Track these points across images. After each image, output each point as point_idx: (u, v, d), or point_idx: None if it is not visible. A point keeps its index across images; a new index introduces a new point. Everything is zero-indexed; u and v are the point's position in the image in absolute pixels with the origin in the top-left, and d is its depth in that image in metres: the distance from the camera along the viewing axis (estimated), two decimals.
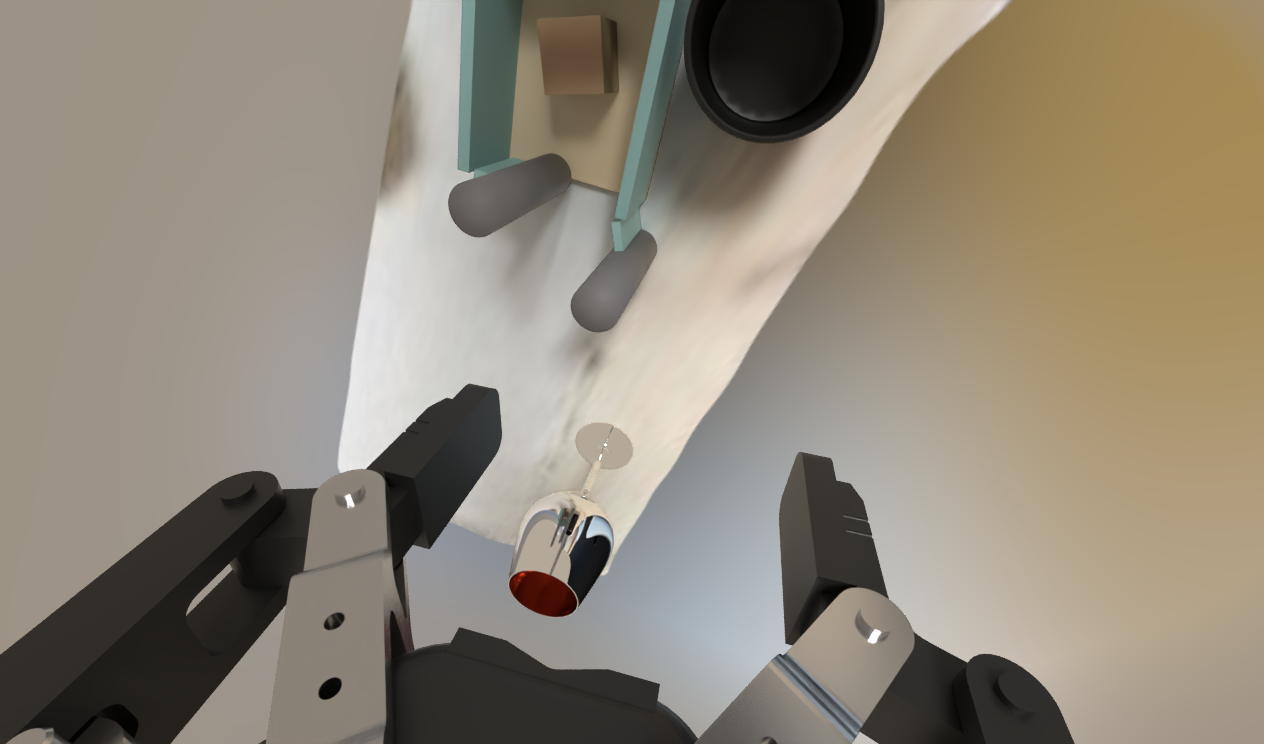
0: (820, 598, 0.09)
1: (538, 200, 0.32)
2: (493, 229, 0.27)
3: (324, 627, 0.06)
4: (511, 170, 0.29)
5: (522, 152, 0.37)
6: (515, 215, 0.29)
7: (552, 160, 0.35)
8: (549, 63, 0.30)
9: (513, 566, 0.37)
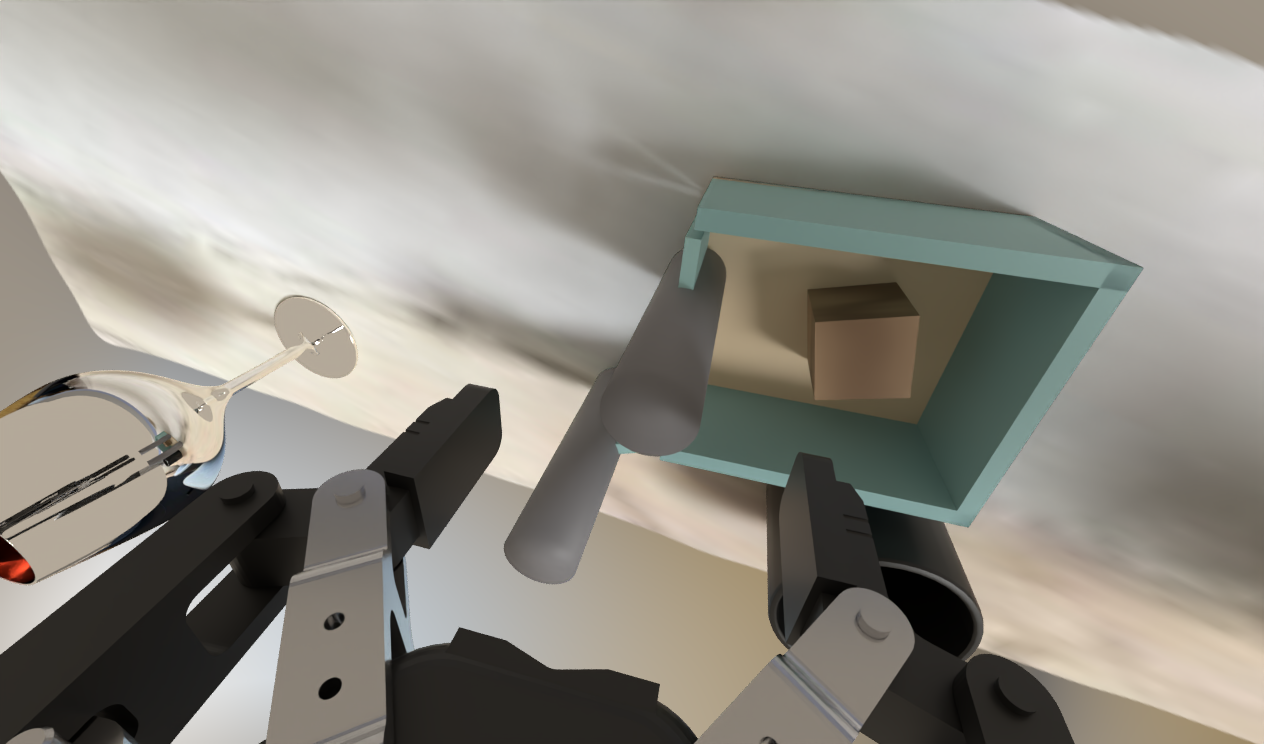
0: (820, 598, 0.09)
1: None
2: (621, 443, 0.15)
3: (324, 627, 0.06)
4: None
5: None
6: None
7: None
8: (857, 331, 0.20)
9: None
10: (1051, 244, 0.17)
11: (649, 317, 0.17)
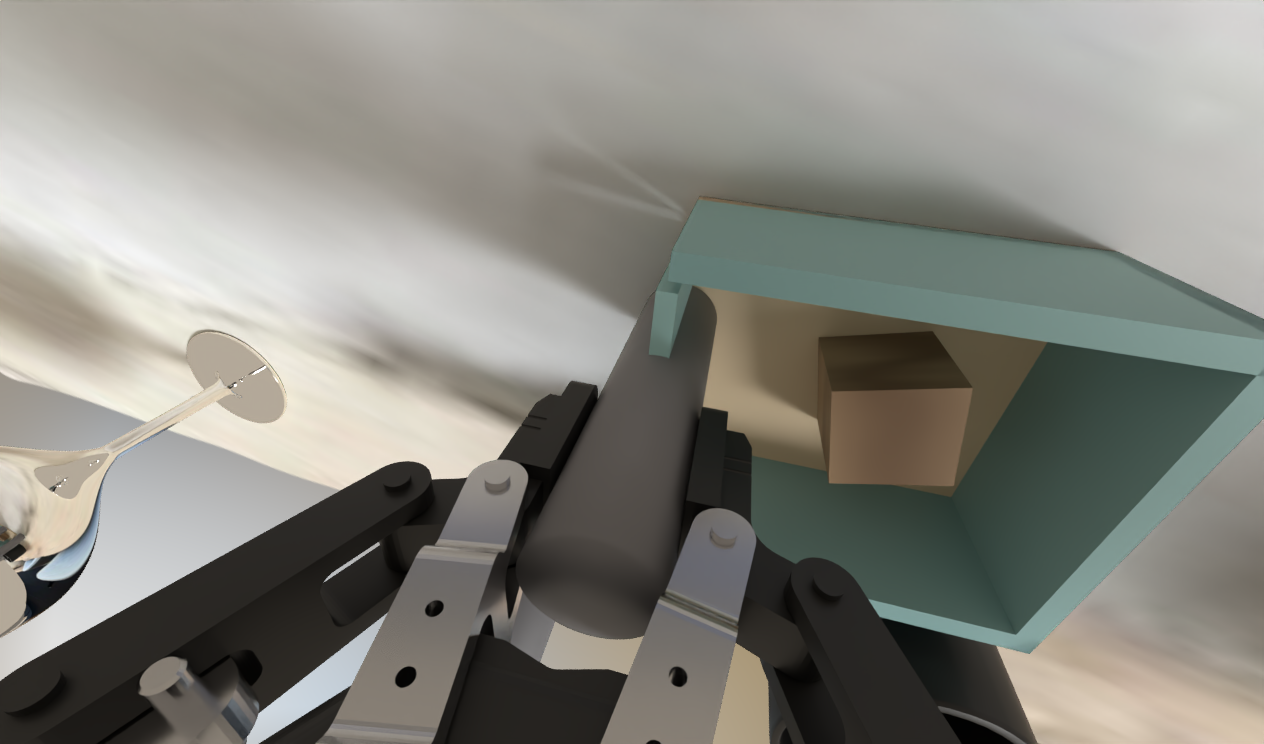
0: (693, 521, 0.10)
1: None
2: (554, 617, 0.10)
3: (425, 609, 0.07)
4: None
5: None
6: None
7: None
8: (888, 404, 0.15)
9: None
10: (1173, 304, 0.12)
11: (604, 407, 0.12)
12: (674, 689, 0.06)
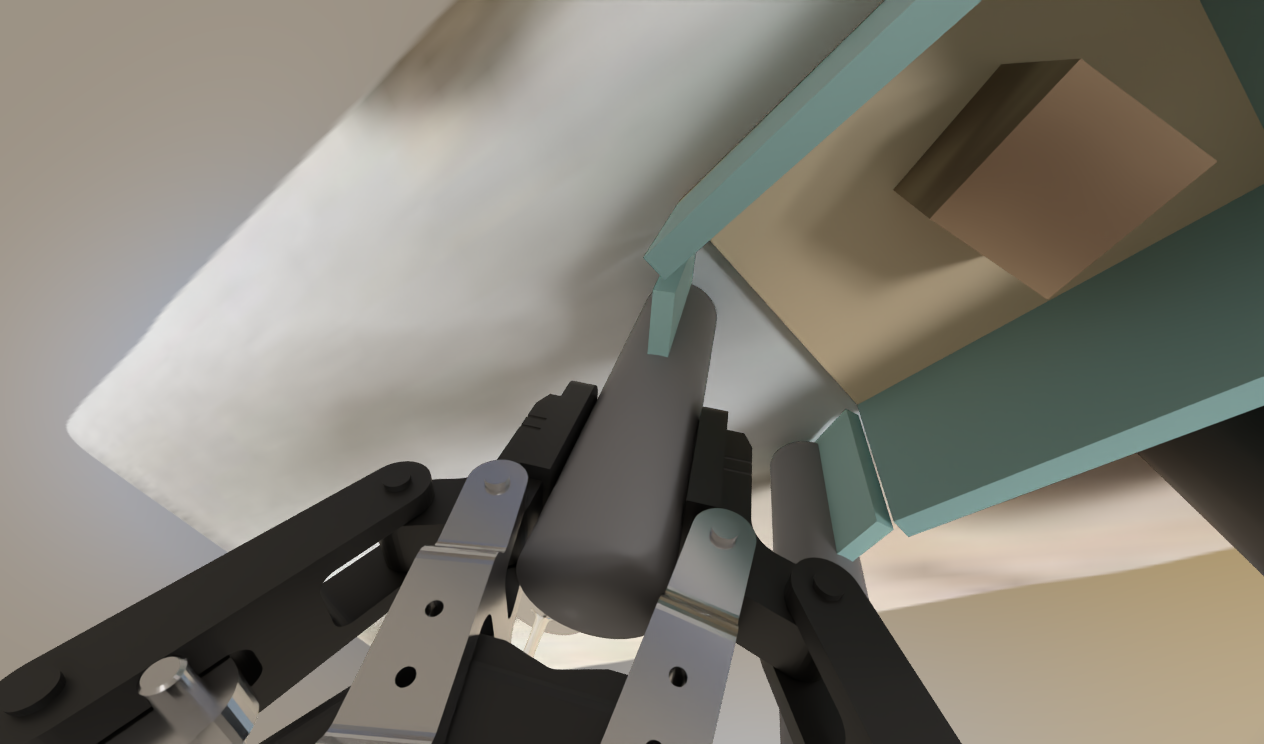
0: (693, 521, 0.10)
1: None
2: (556, 618, 0.10)
3: (425, 609, 0.07)
4: None
5: None
6: None
7: None
8: (1004, 170, 0.12)
9: None
10: None
11: (603, 408, 0.12)
12: (675, 689, 0.06)
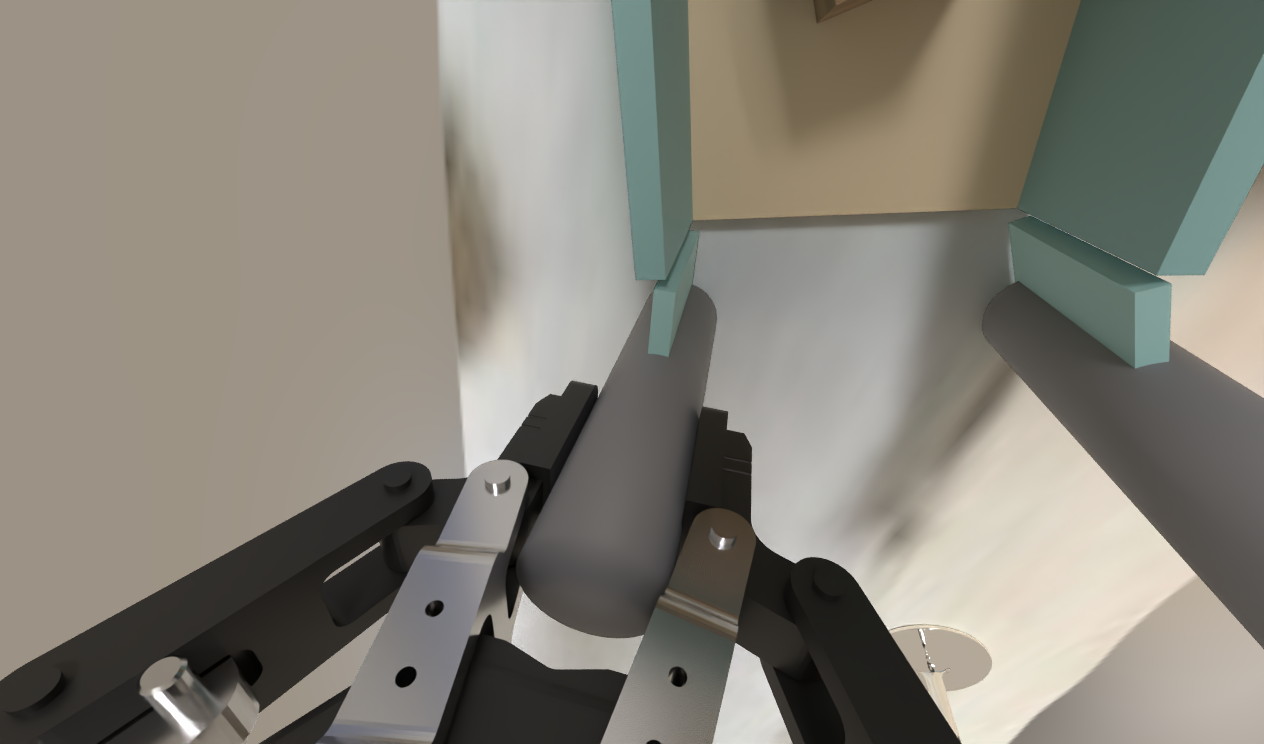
0: (692, 521, 0.10)
1: None
2: (555, 617, 0.10)
3: (425, 611, 0.07)
4: None
5: (719, 195, 0.17)
6: None
7: None
8: None
9: None
10: None
11: (603, 407, 0.12)
12: (674, 689, 0.06)
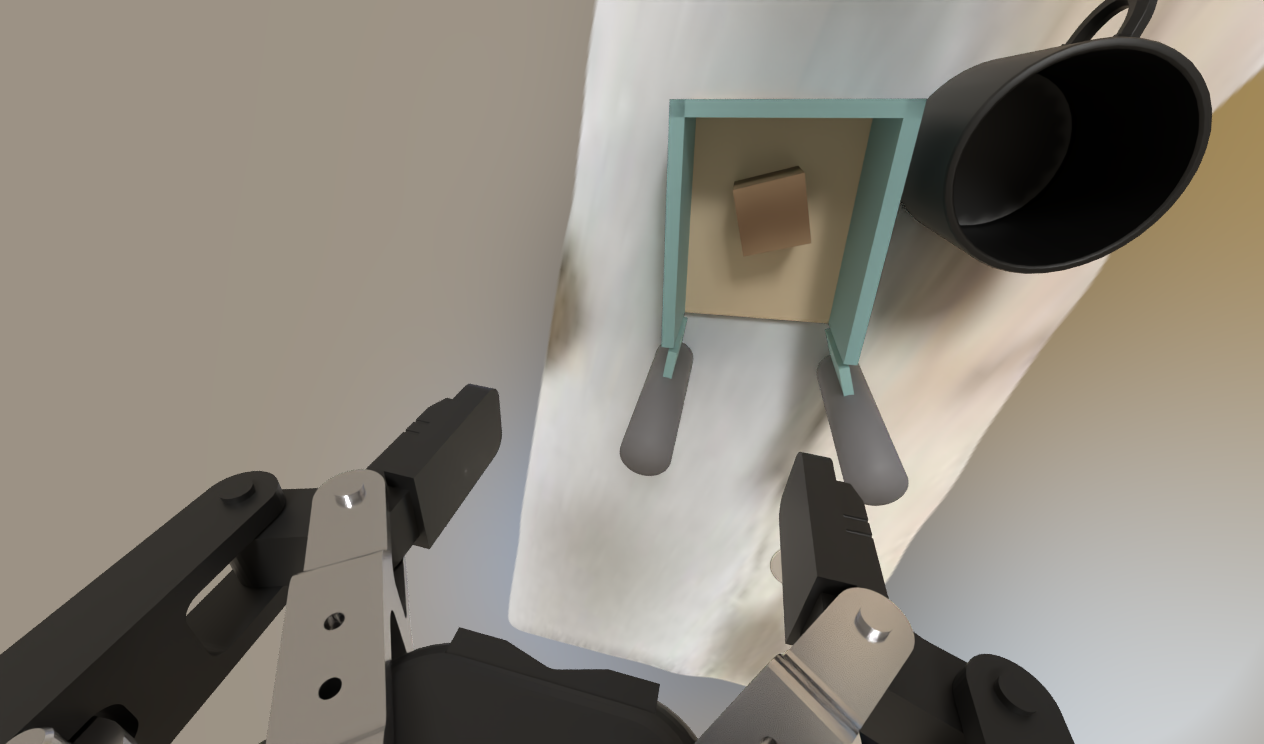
0: (820, 598, 0.09)
1: None
2: (629, 467, 0.28)
3: (324, 627, 0.06)
4: None
5: (698, 302, 0.36)
6: None
7: None
8: (747, 227, 0.29)
9: None
10: None
11: (646, 397, 0.30)
12: None
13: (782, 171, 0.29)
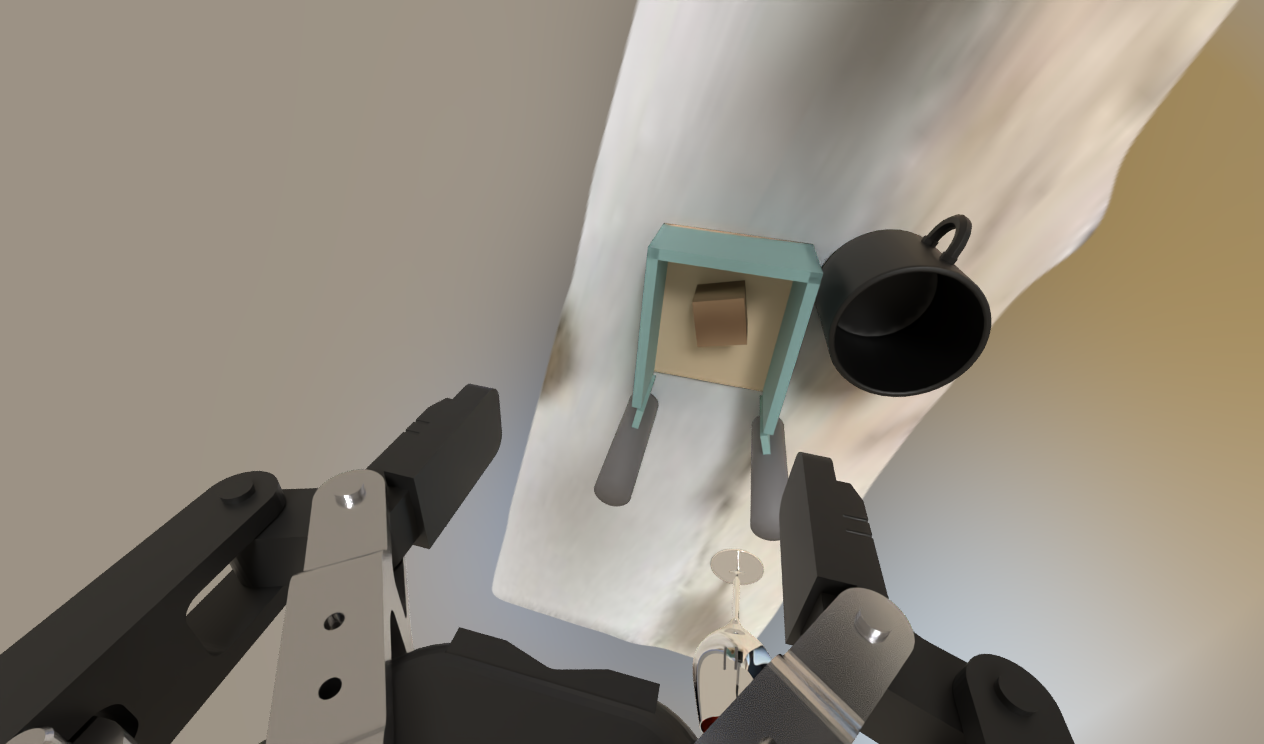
0: (820, 598, 0.09)
1: None
2: (600, 499, 0.38)
3: (324, 626, 0.06)
4: None
5: (665, 365, 0.46)
6: None
7: None
8: (701, 328, 0.38)
9: (702, 710, 0.44)
10: None
11: (617, 445, 0.40)
12: None
13: (732, 285, 0.39)
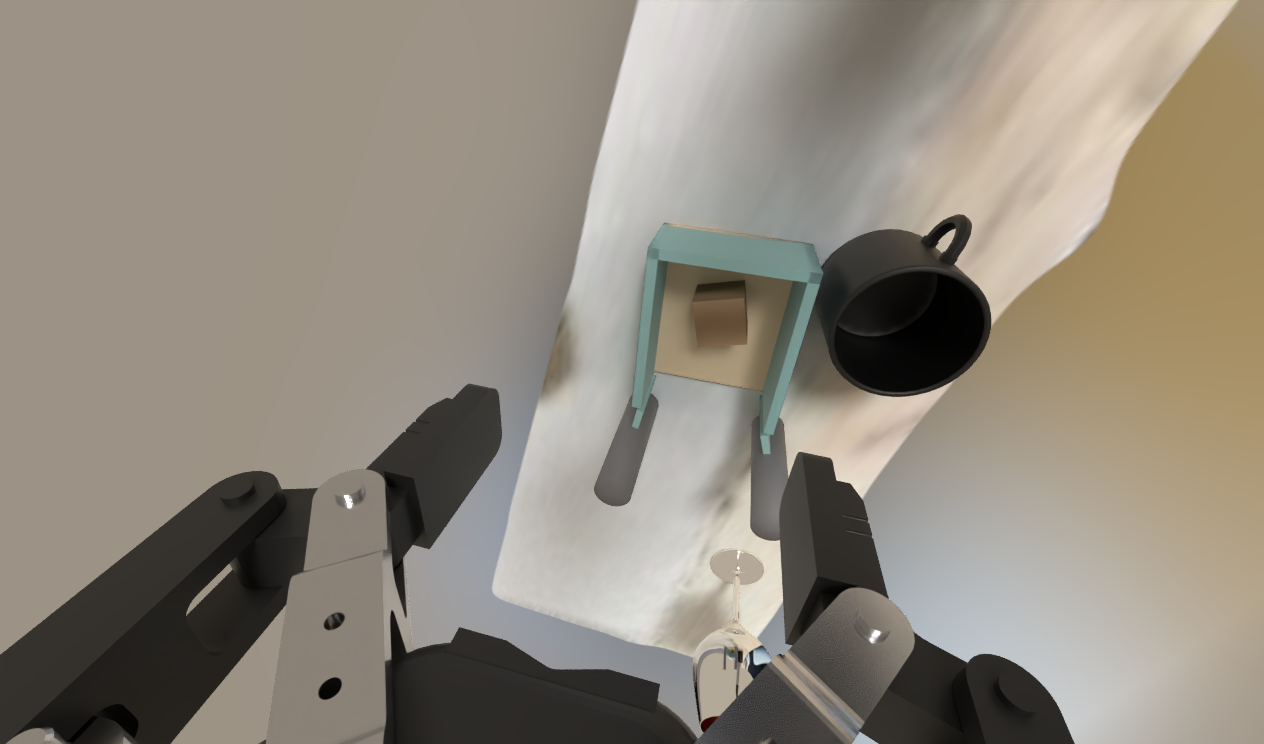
0: (820, 598, 0.09)
1: None
2: (600, 499, 0.38)
3: (324, 626, 0.06)
4: None
5: (665, 365, 0.46)
6: None
7: None
8: (701, 328, 0.38)
9: (702, 709, 0.44)
10: None
11: (617, 444, 0.40)
12: None
13: (732, 285, 0.39)
